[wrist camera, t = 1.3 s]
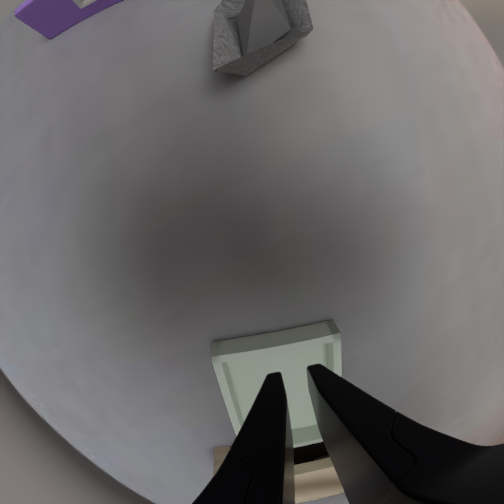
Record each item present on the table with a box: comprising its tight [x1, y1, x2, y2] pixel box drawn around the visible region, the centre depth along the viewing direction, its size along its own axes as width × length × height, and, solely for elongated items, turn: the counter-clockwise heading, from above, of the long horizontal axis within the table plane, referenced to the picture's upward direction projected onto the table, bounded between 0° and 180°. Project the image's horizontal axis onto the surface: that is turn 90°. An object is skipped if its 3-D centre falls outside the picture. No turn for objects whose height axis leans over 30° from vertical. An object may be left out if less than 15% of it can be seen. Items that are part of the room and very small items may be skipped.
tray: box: [211, 320, 342, 448], centre depth 21 cm, size 12×9×2 cm
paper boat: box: [213, 0, 313, 76], centre depth 11 cm, size 12×6×9 cm, turn 162°
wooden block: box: [213, 446, 344, 504], centre depth 22 cm, size 7×15×5 cm, turn 100°
